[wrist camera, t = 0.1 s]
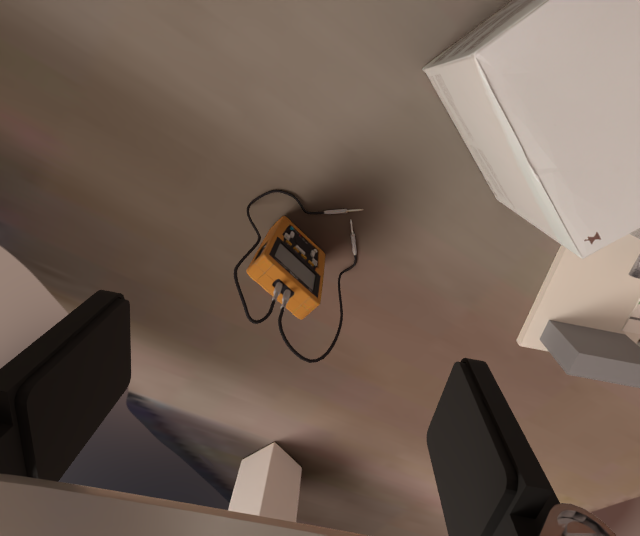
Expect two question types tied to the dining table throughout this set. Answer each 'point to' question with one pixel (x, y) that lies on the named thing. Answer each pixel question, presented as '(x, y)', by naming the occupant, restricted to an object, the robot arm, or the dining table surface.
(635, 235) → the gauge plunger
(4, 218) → the dining table surface
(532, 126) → the supplement box
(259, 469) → the milk carton
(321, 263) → the multimeter
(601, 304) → the base
